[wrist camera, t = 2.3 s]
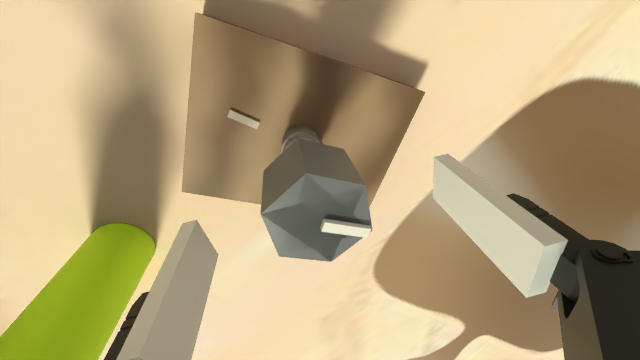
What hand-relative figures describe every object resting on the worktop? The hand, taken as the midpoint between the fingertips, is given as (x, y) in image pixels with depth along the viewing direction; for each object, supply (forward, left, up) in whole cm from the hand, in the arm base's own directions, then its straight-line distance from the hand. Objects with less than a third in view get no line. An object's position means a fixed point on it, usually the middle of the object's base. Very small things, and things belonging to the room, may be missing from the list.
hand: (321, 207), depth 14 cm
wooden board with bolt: (0, 0, -11) cm, 11 cm away
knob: (0, 0, -3) cm, 3 cm away
